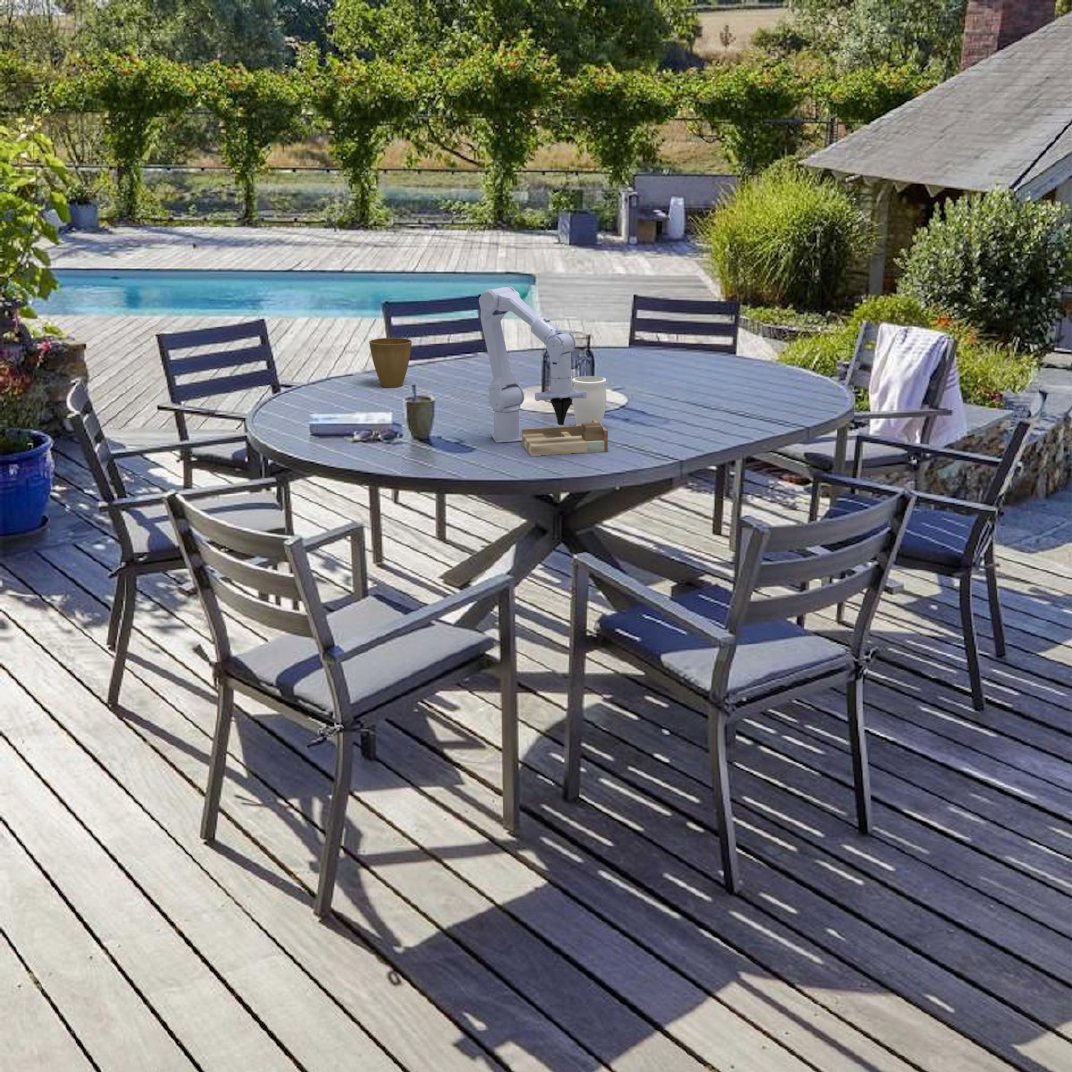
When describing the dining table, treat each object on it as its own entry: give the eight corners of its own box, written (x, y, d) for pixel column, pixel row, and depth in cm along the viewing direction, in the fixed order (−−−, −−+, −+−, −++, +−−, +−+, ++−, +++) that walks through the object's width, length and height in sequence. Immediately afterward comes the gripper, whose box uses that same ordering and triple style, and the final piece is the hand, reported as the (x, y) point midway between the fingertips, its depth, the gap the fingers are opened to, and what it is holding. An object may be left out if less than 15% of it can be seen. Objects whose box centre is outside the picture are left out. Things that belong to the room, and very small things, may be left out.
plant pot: (399, 391, 436) (397, 345, 431) (363, 388, 442) (360, 342, 437) (421, 383, 449) (419, 338, 444) (385, 380, 455) (383, 336, 450)
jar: (609, 430, 379) (609, 381, 374) (575, 432, 378) (575, 383, 373) (602, 422, 389) (602, 374, 384) (569, 424, 388) (569, 376, 383)
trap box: (521, 444, 365) (521, 424, 363) (595, 439, 369) (595, 419, 367) (531, 456, 352) (531, 435, 350) (607, 451, 356) (607, 430, 354)
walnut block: (581, 437, 360) (581, 423, 359) (598, 435, 361) (598, 422, 360) (585, 441, 355) (585, 427, 354) (603, 440, 356) (603, 426, 355)
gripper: (538, 381, 346) (538, 429, 351) (589, 378, 349) (588, 426, 353) (533, 375, 353) (533, 423, 357) (583, 373, 355) (582, 420, 360)
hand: (560, 424), depth 356 cm, fingers closed
